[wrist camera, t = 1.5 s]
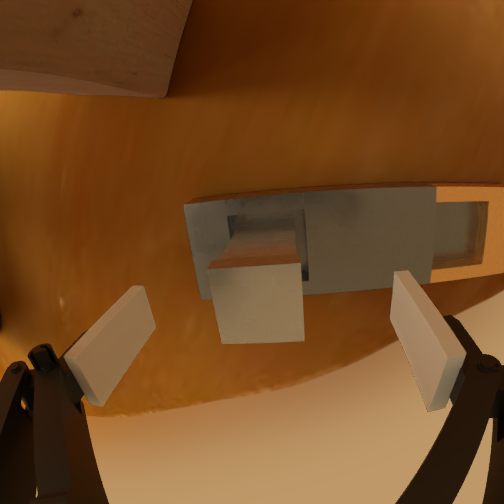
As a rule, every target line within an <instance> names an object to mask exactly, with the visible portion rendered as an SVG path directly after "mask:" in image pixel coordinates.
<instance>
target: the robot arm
mask: <svg viewBox="0 0 504 504" xmlns="http://www.w3.org/2000/svg"><path fill="white" fill-rule="evenodd" d="M390 320H391V323H392V325H393V327H394V329H395V332H396V334H397V336H398V338H399V341H400V343H401V345H402V347H403V350H404V352H405V355H406V357H407V359H408V362H409V364H410V367H411V369H412V372H413V374H414V377H415V379H416V382H417V384H418V387H419V390H420V392H421V395H422V398H423V400H424V403H425V406H426V409H427V411H428V412H430V411H434V410H439V409H443V408H445V407H446V404H447V402H448V400H449V398H450V399H451V402H452V404H453V406H452V408H451V410H450V413H449V415H448V417H447V419H446V421H445V423H444V425H443V427H442V429H441V431H440V433H439V435H438V437H437V439H436V440H435V442H434V444H433V446H432V448H431V449H430V451H429V453H428V455H427V456H426V458H425V460H424V461H423V463H422V465H421V466H420V468H419V470H418V471H417V473H416V474H415V476H414V478H413V479H412V480H411V482H410V484H409V485H408V486H407V488H406V490H405V491H404V492H403V494H402V495H401V496H400V498H399V499H398V501H397V502H396V503H395V504H452V503H453V501H454V500H455V498H456V496H457V494H458V492H459V490H460V488H461V486H462V484H463V482H464V480H465V478H466V476H467V474H468V471H469V469H470V467H471V465H472V462H473V460H474V458H475V455H476V453H477V450H478V448H479V445H480V442H481V440H482V437H483V434H484V432H485V429H486V426H487V423H488V420H489V418H493V432H492V445H491V455H490V463H489V471H488V477H487V483H486V489H485V494H484V499H483V504H504V365H501V363H500V362H499V360H497V359H496V358H495V357H493V356H491V355H487V354H482V352H481V351H480V349H479V348H478V346H477V345H476V344H475V342H474V341H473V339H472V338H471V336H470V335H469V334H468V332H467V331H466V330H465V329H464V327H463V325H462V324H461V323H460V321H459V320H457V319H455V318H454V317H453V316H451V315H448V316H442V315H441V314H440V312H439V311H438V310H437V308H436V307H435V305H434V304H433V303H432V301H431V300H430V299H429V297H428V296H427V294H426V293H425V292H424V290H423V289H422V288H421V286H420V285H419V284H418V283H417V281H416V280H415V279H414V277H413V276H412V275H411V273H410V272H409V271H408V270H405V271H394V281H393V293H392V303H391V312H390ZM0 328H1V316H0ZM155 329H156V324H155V321H154V318H153V315H152V312H151V308H150V305H149V302H148V298H147V295H146V291H145V288H144V285H142V286H132V287H131V288H130V289H129V290H128V291H127V292H126V293H125V294H124V295H123V296H121V297H120V298H119V299H118V300H117V301H116V302H115V303H114V304H113V305H112V306H111V307H110V308H109V309H108V310H107V311H106V312H105V313H104V314H103V315H102V317H101V318H100V319H99V320H98V321H97V322H96V323H95V324H94V325H93V326H92V327H91V328H90V329H89V330H87V331H86V332H84V333H83V334H82V335H81V336H80V337H79V338H78V339H77V340H76V341H75V342H74V343H73V345H71V346H70V347H69V348H68V349H67V350H66V351H65V352H64V354H63V355H62V356H61V357H60V358H59V359H58V358H57V356H56V355H55V353H54V351H53V349H52V346H51V345H49V344H40V345H38V346H36V347H34V348H33V349H32V350H31V351H30V352H29V353H28V358H29V360H30V361H31V363H32V365H33V367H34V369H32V370H29V368H28V366H27V365H26V363H25V362H24V361H17V362H14V363H12V364H11V365H10V366H9V367H8V368H7V370H6V372H5V374H4V376H3V378H2V380H1V382H0V504H109V502H108V499H107V496H106V493H105V490H104V488H103V484H102V481H101V478H100V474H99V471H98V467H97V463H96V459H95V456H94V452H93V447H92V443H91V439H90V435H89V430H88V425H87V420H86V414H85V409H84V404H83V402H82V401H81V398H82V397H83V395H85V397H86V398H87V400H88V401H89V403H90V404H93V405H97V406H101V407H103V405H104V404H105V402H106V401H107V399H108V398H109V396H110V395H111V393H112V392H113V390H114V389H115V387H116V386H117V384H118V383H119V381H120V380H121V378H122V377H123V375H124V374H125V372H126V371H127V369H128V368H129V366H130V365H131V363H132V362H133V360H134V359H135V357H136V356H137V355H138V353H139V352H140V350H141V349H142V347H143V346H144V344H145V343H146V341H147V340H148V339H149V337H150V336H151V334H152V333H153V331H154V330H155ZM21 399H22V401H23V402H24V404H25V405H26V407H25V410H24V409H23V407H22V406H21ZM36 488H37V491H38V496H37V498H36Z"/></svg>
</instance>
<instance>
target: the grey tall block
mask: <svg viewBox="0 0 504 504" xmlns="http://www.w3.org/2000/svg"><path fill="white" fill-rule="evenodd" d="M207 274H208V279H209V285H210V290H211V295H212V299H213V304H214V309H215V314H216V319H217V323H218V328H219V333H220V337H221V342H222V344H240V343H276V342H296V341H305V337H304V313H303V293H302V276H301V261H300V254H297V248H296V236H295V223H294V216H284V217H272V218H260V219H249V220H242V221H241V223H240V225H239V226H238V228H237V230H236V231H235V233H234V235H233V237H232V238H231V240H230V242H229V243H228V245H227V247H226V248H225V250H224V252H223V254H222V255H221V257H220V259H215V260H212V261H211V263H210V264H209V266H208V268H207Z"/></svg>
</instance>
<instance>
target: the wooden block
mask: <svg viewBox="0 0 504 504" xmlns="http://www.w3.org/2000/svg"><path fill="white" fill-rule="evenodd" d="M192 1H193V0H0V90H12V91H35V92H49V93H61V94H71V95H110V96H133V97H148V98H163V97H165V96H166V94H167V91H168V86H169V82H170V78H171V74H172V70H173V66H174V62H175V58H176V54H177V51H178V47H179V43H180V40H181V36H182V33H183V30H184V26H185V23H186V20H187V17H188V13H189V10H190V7H191V4H192Z"/></svg>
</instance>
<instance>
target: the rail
mask: <svg viewBox="0 0 504 504" xmlns="http://www.w3.org/2000/svg"><path fill="white" fill-rule="evenodd" d="M183 208H184V214H185V219H186V225H187V230H188V236H189V241H190V246H191V251H192V256H193V261H194V266H195V271H196V276H197V281H198V285H199V290H200V295H201V299H202V300H213V299H212V295H211V290H210V285H209V279H208V274H207V268H208V266H209V264H210V263H211V261H212V260H215V259H220V257H221V255H222V254H223V252H224V250H225V248H226V247H227V245H228V243H229V242H230V240H231V238H232V237H233V235H234V233H235V231H236V230H237V228H238V226H239V225H240V223H241V221H242V220H249V219H260V218H272V217H284V216H294V223H295V236H296V248H297V254H300V261H301V276H302V293H303V295H312V294H326V293H338V292H350V291H361V290H372V289H382V288H392V287H393V281H394V271H405V270H408V271H409V272H410V273H411V275H412V276H413V277H414V279H415V280H416V281H417V283H418V284H428V283H436V282H444V281H451V280H459V279H466V278H473V277H480V276H487V275H493V274H500V273H503V272H504V185H503V184H500V183H482V182H400V183H370V184H349V185H332V186H316V187H303V188H290V189H278V190H268V191H257V192H247V193H238V194H229V195H220V196H212V197H204V198H196V199H192V200H190V201H189V202H187V203H185V204H184V205H183Z"/></svg>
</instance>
